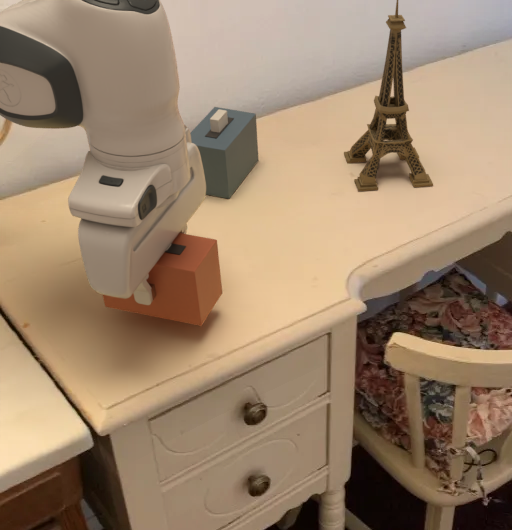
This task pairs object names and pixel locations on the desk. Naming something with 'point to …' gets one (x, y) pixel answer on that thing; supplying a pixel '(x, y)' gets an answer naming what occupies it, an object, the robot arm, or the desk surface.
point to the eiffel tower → (386, 109)
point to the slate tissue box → (226, 149)
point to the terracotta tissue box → (181, 282)
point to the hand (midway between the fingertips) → (161, 280)
